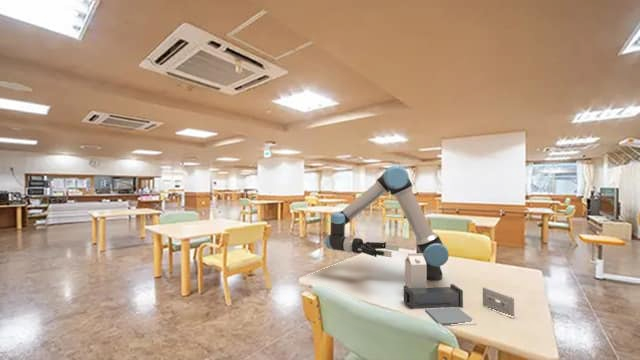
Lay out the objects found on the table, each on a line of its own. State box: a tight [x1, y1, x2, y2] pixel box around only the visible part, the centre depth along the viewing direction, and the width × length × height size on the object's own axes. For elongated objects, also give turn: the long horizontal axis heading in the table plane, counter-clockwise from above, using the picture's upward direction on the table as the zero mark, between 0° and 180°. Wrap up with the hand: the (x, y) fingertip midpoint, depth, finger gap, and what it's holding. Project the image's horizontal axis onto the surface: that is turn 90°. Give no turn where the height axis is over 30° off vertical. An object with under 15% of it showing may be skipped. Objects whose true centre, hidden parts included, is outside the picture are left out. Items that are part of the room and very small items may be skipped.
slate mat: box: [424, 307, 473, 326], centre depth 102 cm, size 14×11×1 cm
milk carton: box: [404, 252, 428, 288], centre depth 123 cm, size 7×7×19 cm
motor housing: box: [403, 283, 464, 310], centre depth 113 cm, size 23×7×7 cm, turn 95°
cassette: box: [482, 286, 515, 317], centre depth 107 cm, size 12×2×8 cm, turn 25°
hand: (395, 251), depth 128 cm, fingers open, 13 cm apart
